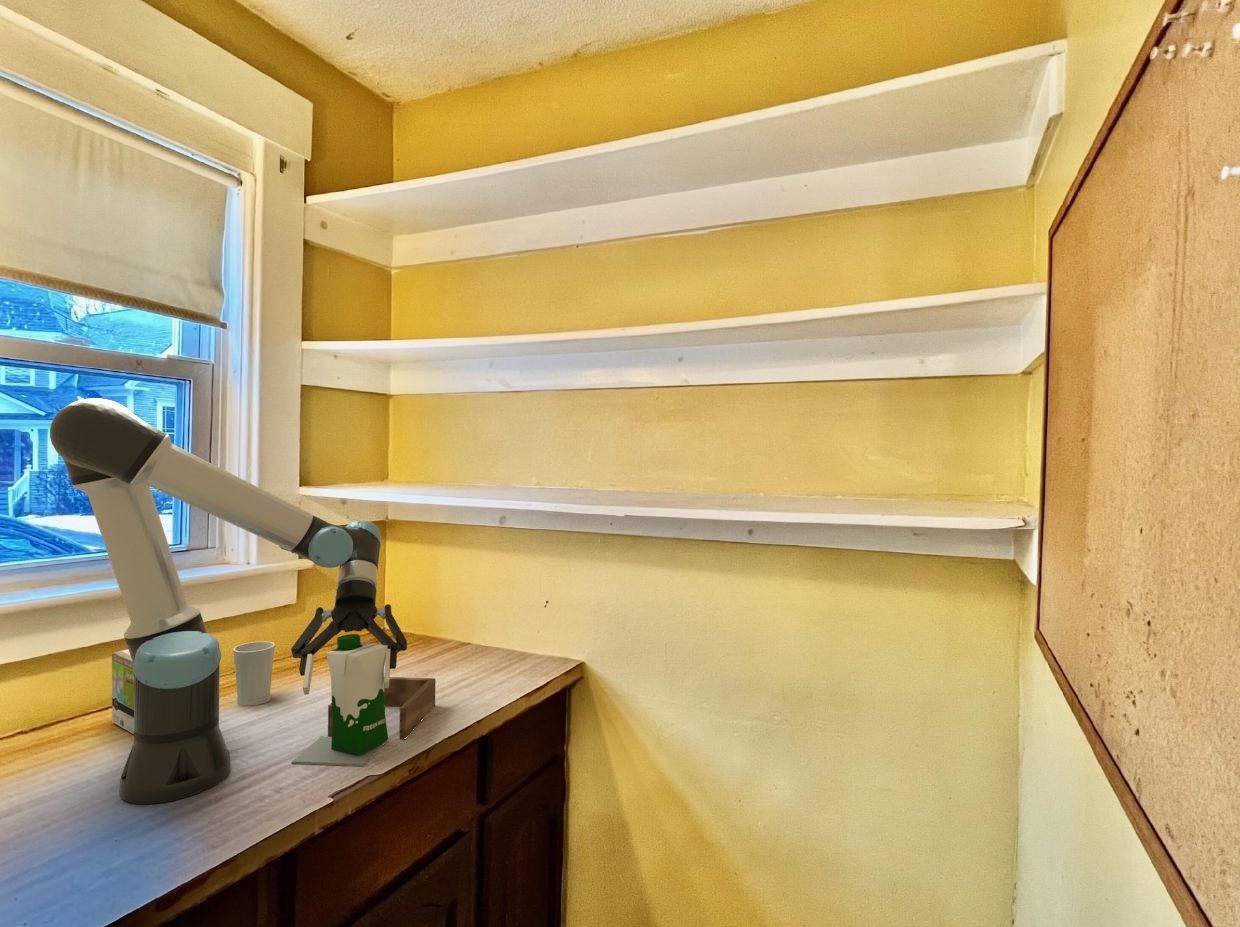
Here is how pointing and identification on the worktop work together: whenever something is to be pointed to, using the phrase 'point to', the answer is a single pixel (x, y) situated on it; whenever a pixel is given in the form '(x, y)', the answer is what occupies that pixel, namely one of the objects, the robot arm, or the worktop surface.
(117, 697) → the tea box
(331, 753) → the mat
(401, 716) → the wooden tray
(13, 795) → the worktop surface
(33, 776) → the worktop surface
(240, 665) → the cup
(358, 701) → the soya milk
